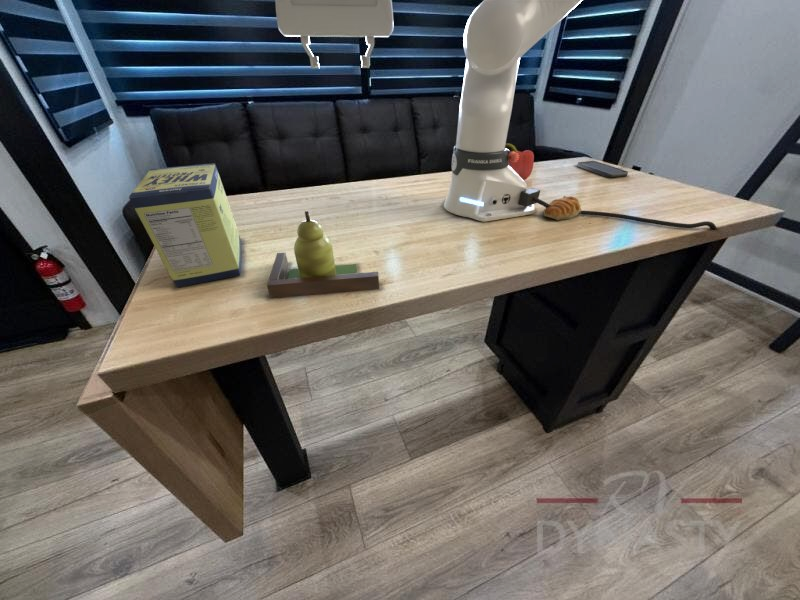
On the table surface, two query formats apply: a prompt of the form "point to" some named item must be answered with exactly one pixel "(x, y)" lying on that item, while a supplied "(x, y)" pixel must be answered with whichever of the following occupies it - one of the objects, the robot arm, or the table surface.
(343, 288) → the corner guard
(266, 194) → the table surface
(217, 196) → the protein box
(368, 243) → the table surface
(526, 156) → the vegetable
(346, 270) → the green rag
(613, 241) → the table surface
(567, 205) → the pastry
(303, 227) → the pear
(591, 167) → the phone
